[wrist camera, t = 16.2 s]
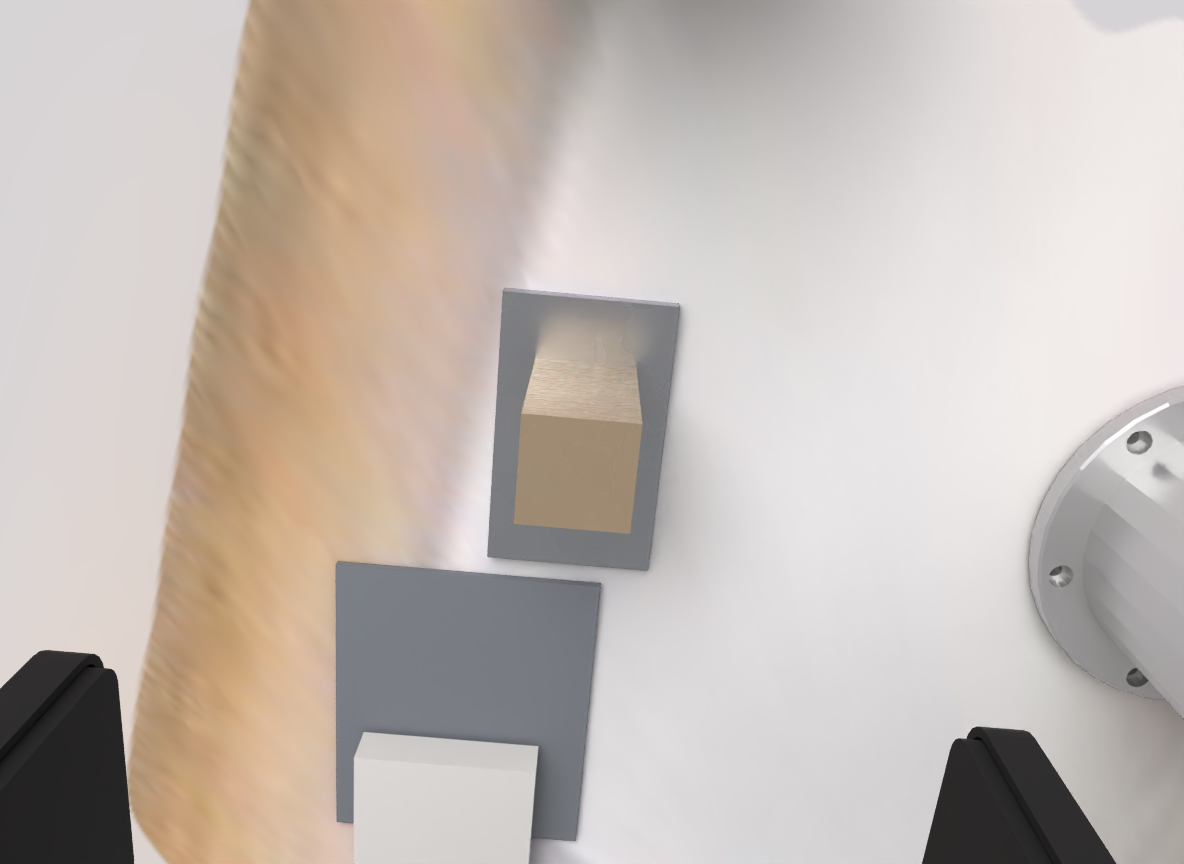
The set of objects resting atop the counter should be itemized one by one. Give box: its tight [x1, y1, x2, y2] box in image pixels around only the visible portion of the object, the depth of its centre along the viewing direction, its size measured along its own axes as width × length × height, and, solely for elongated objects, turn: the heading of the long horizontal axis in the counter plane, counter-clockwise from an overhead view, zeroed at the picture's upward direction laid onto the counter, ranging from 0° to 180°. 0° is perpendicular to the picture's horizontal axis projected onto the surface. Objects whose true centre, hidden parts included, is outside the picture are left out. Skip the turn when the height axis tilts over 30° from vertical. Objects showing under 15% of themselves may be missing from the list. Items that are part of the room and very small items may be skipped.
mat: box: [336, 561, 600, 841], centre depth 39 cm, size 10×12×1 cm
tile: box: [354, 732, 539, 864], centre depth 40 cm, size 2×7×8 cm
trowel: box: [487, 288, 680, 571], centre depth 32 cm, size 10×6×7 cm, turn 175°
